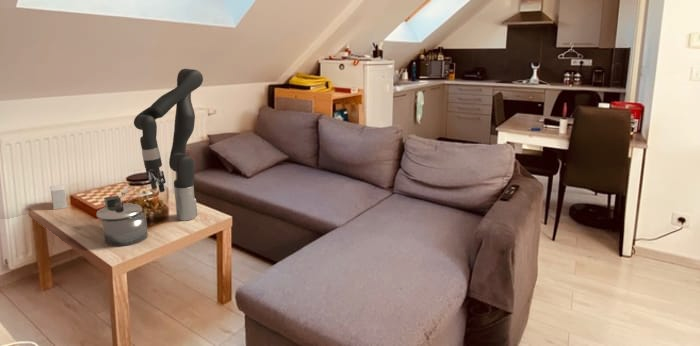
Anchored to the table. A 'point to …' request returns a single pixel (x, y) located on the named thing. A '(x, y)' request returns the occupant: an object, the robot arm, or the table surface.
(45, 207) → the table surface
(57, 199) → the skincare box
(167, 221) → the table surface
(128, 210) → the lid
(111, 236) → the pot
